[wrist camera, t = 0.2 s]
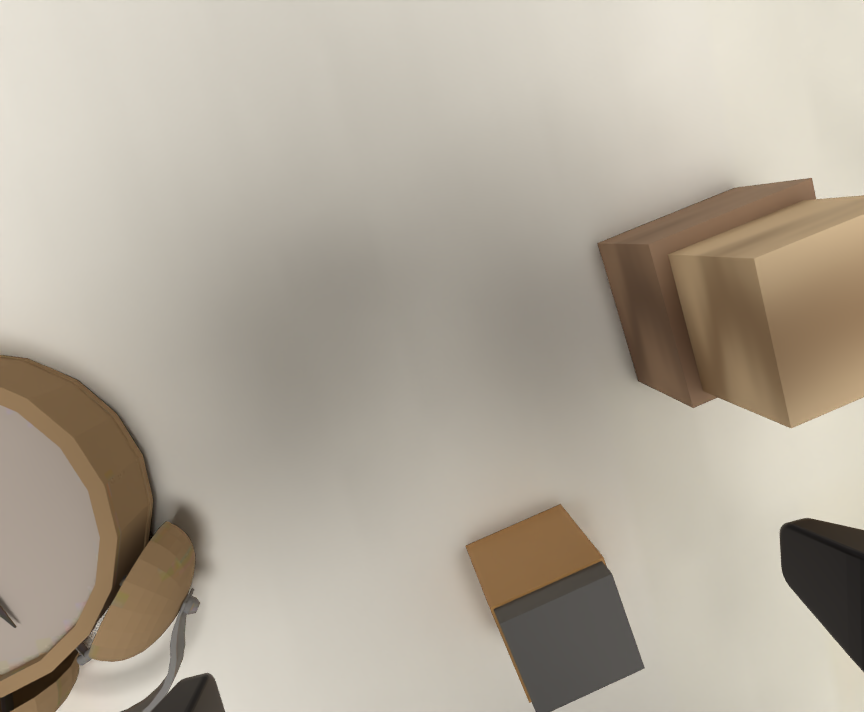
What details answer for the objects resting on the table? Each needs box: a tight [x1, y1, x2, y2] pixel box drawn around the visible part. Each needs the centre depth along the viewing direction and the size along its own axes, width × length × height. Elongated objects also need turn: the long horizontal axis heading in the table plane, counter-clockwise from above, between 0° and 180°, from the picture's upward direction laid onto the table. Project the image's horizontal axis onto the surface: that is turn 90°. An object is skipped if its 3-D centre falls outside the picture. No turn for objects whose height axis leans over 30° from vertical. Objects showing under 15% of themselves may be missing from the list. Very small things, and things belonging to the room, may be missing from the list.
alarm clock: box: [0, 355, 200, 712], centre depth 20 cm, size 11×5×15 cm
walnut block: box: [598, 178, 816, 408], centre depth 21 cm, size 6×6×4 cm
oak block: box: [668, 195, 864, 428], centre depth 17 cm, size 5×5×4 cm
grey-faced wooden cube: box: [466, 504, 644, 712], centre depth 22 cm, size 4×4×5 cm
